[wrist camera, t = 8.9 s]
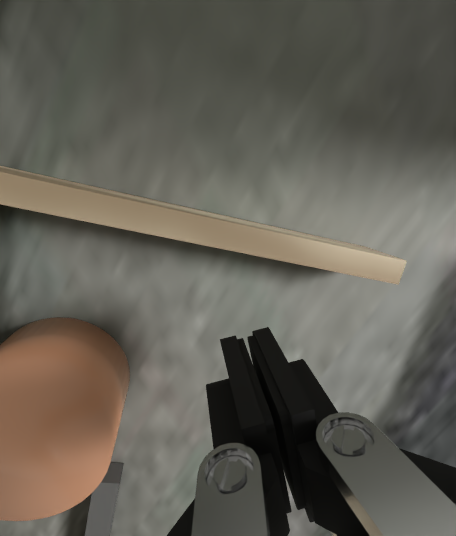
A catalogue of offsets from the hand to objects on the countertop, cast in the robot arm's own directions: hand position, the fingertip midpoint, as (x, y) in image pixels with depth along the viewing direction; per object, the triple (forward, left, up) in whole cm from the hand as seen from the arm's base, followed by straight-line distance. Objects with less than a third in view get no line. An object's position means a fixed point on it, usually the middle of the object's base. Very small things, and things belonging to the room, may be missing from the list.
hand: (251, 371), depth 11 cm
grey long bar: (-13, +4, -5) cm, 14 cm away
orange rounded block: (-4, +7, -5) cm, 10 cm away
